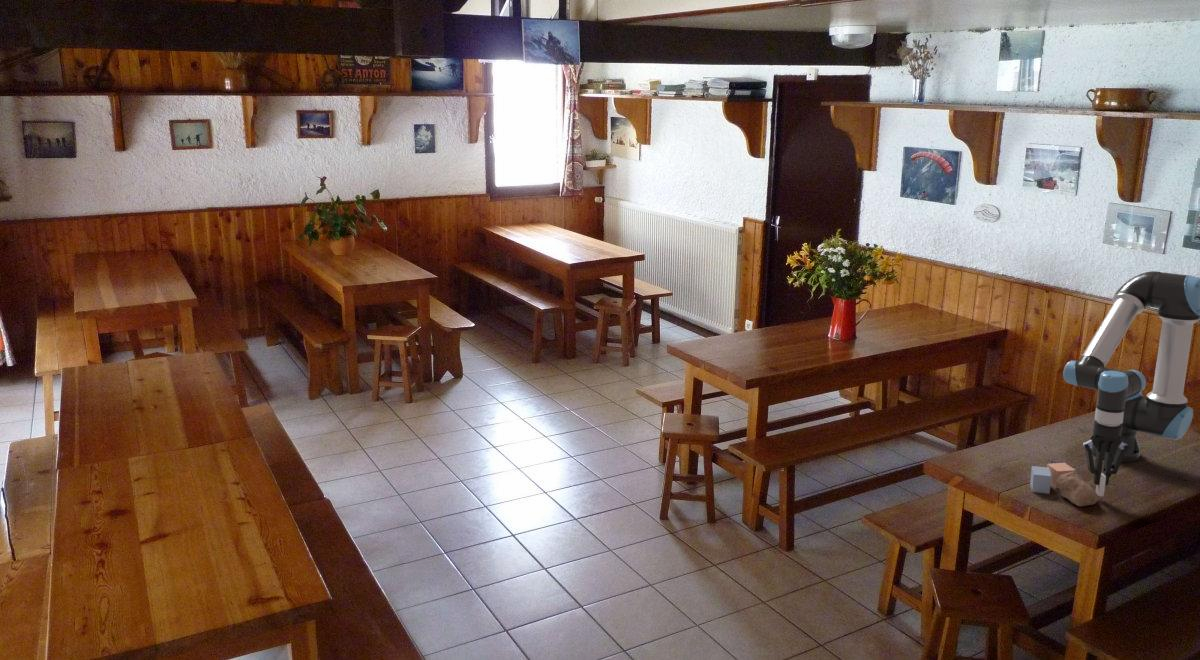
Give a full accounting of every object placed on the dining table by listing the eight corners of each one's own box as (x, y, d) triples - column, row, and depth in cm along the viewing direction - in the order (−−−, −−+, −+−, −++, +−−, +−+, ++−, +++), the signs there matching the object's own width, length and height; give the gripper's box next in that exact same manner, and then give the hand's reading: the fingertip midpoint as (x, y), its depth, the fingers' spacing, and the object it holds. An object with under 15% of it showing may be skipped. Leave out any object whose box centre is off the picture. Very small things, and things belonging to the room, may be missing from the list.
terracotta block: (1062, 479, 301) (1064, 462, 299) (1073, 487, 295) (1075, 470, 294) (1045, 481, 300) (1046, 463, 299) (1055, 488, 295) (1057, 471, 293)
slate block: (1047, 485, 297) (1048, 467, 296) (1049, 493, 291) (1051, 476, 290) (1030, 483, 299) (1031, 465, 298) (1032, 492, 293) (1033, 474, 291)
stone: (1055, 497, 293) (1047, 476, 289) (1080, 481, 293) (1072, 459, 289) (1084, 519, 282) (1076, 497, 278) (1109, 502, 282) (1101, 480, 278)
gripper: (1126, 418, 282) (1117, 490, 288) (1081, 417, 284) (1072, 488, 290) (1136, 427, 275) (1127, 500, 281) (1089, 425, 277) (1081, 498, 283)
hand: (1099, 494), depth 285 cm, fingers closed
